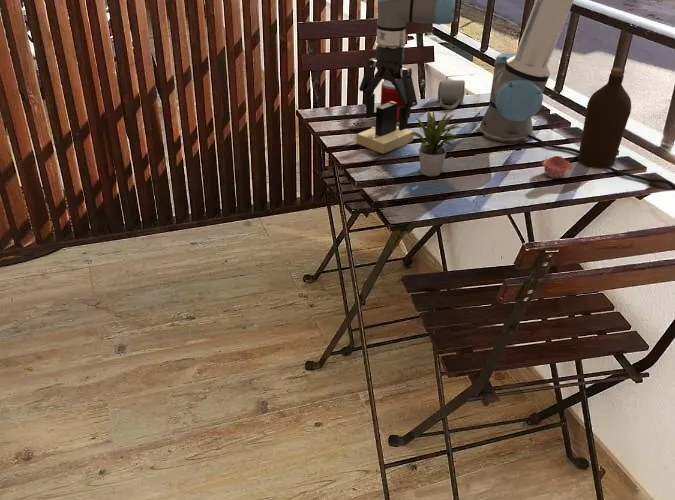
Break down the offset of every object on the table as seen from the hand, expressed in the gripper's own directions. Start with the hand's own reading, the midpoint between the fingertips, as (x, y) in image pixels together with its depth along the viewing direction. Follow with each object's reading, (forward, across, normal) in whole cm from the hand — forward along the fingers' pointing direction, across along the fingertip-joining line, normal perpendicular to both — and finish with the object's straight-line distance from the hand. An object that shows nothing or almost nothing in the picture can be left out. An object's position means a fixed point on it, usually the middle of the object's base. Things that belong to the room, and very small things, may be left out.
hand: (386, 123), depth 182 cm
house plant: (+6, +22, -7) cm, 24 cm away
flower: (+6, +45, +15) cm, 48 cm away
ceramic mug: (+6, -6, +39) cm, 40 cm away
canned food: (+6, -11, +16) cm, 20 cm away
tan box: (+6, 0, 0) cm, 6 cm away
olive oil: (+6, +48, +32) cm, 58 cm away
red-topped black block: (+3, 0, 0) cm, 3 cm away
